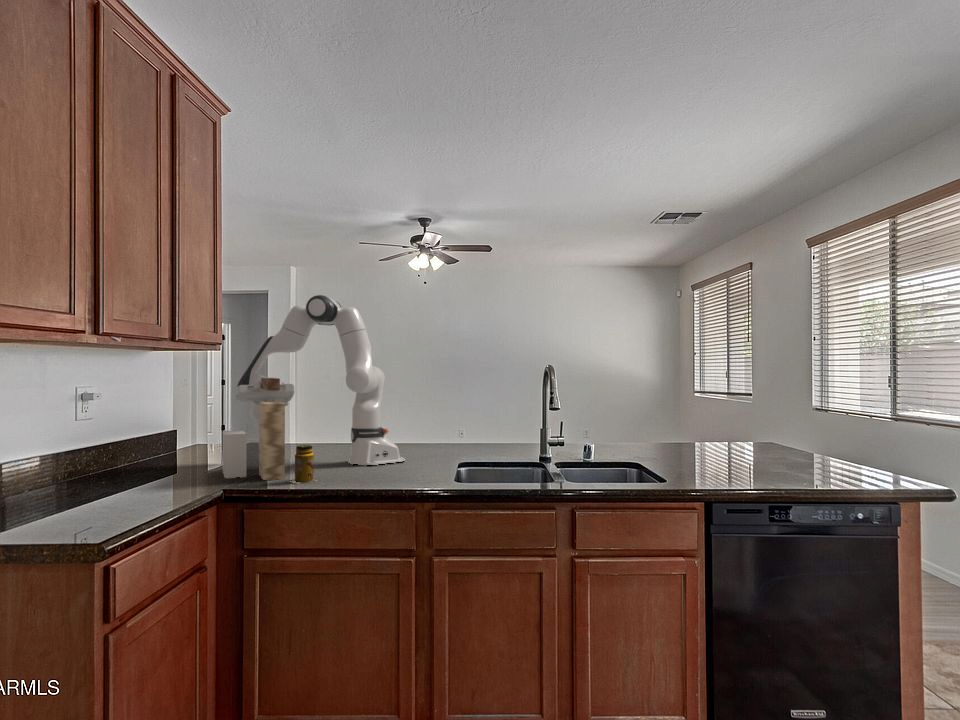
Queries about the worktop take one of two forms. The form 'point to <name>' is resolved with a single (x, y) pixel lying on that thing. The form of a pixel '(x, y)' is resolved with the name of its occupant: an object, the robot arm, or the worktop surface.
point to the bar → (270, 383)
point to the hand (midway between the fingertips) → (268, 382)
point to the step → (234, 454)
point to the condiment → (304, 464)
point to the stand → (272, 440)
